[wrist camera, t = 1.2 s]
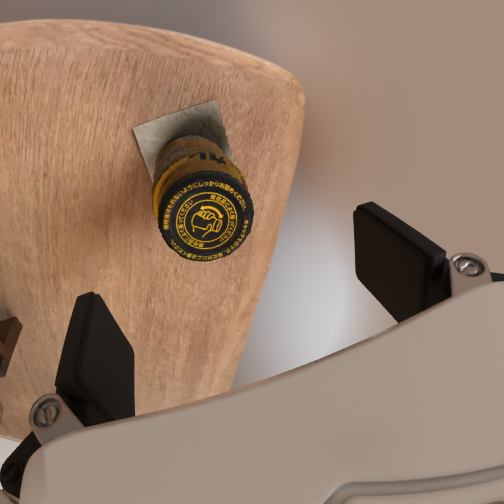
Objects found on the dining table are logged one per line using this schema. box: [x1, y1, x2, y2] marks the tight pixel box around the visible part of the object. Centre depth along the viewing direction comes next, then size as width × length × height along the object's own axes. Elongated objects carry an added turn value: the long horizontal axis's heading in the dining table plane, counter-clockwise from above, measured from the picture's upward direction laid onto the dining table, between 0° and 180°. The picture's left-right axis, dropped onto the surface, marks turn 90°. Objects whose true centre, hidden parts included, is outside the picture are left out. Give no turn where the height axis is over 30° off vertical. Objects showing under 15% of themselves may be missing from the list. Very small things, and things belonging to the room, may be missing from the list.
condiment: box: [133, 100, 254, 261], centre depth 21 cm, size 7×8×12 cm
